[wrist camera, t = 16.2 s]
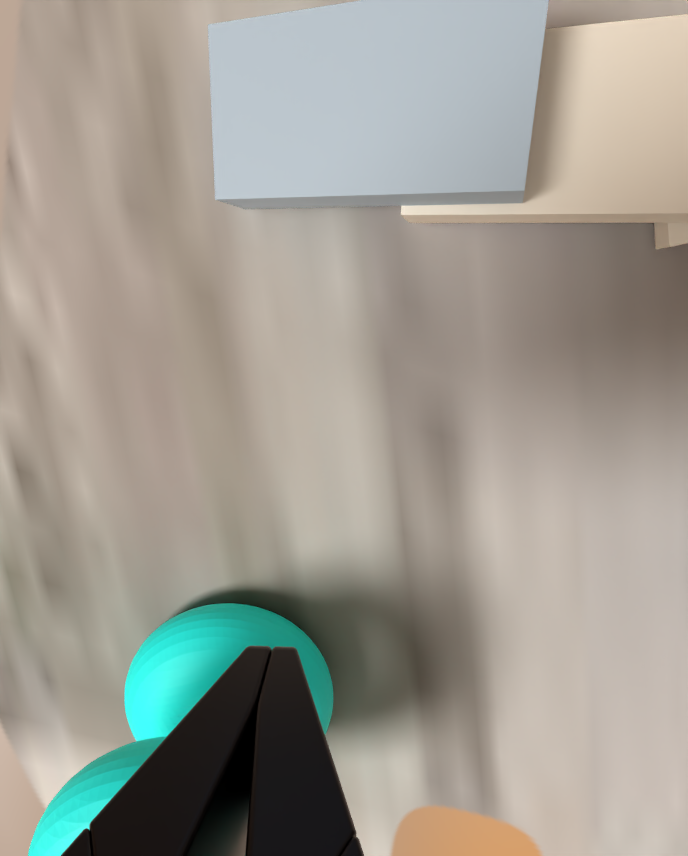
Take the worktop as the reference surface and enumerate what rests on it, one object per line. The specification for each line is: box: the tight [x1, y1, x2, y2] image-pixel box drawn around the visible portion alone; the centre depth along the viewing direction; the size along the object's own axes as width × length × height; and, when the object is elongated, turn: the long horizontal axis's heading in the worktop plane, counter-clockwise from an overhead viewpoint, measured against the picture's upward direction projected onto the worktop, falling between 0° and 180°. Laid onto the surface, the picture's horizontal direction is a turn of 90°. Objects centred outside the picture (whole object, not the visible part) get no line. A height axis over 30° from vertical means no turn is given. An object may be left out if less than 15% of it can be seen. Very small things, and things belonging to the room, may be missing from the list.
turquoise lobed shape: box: [28, 603, 333, 856], centre depth 20 cm, size 10×10×10 cm
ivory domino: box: [401, 14, 688, 223], centre depth 15 cm, size 2×5×10 cm
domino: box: [208, 0, 549, 209], centre depth 15 cm, size 2×5×10 cm
